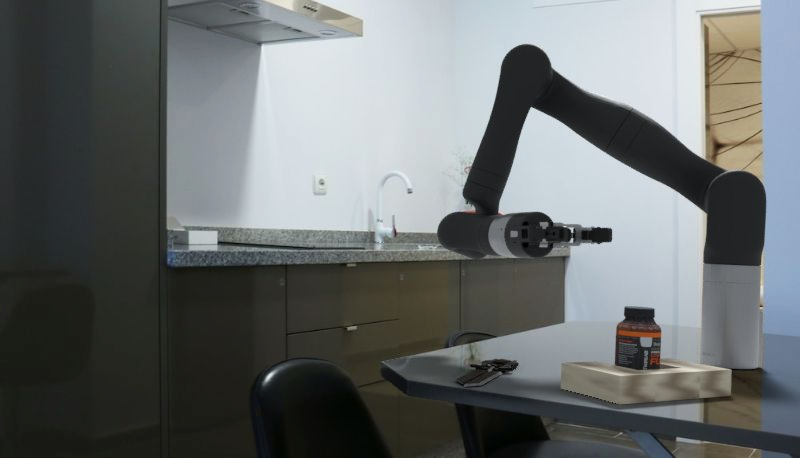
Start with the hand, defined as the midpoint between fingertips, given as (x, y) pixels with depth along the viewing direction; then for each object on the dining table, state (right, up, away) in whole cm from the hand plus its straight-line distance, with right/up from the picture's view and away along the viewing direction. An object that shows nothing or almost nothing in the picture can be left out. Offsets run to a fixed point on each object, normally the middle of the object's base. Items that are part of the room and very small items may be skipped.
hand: (588, 234), depth 123 cm
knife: (-15, -21, -1) cm, 26 cm away
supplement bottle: (+4, -21, -10) cm, 24 cm away
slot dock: (+5, -21, -11) cm, 25 cm away
